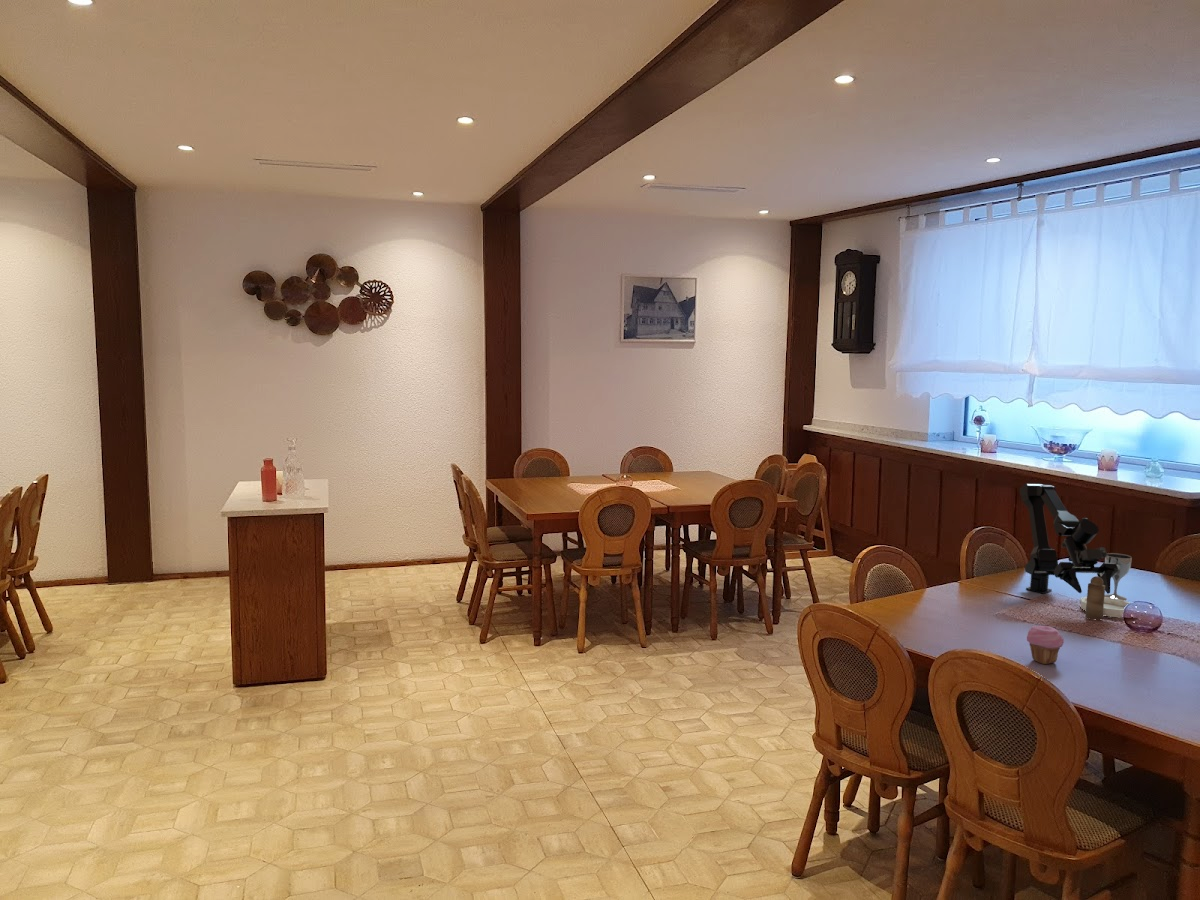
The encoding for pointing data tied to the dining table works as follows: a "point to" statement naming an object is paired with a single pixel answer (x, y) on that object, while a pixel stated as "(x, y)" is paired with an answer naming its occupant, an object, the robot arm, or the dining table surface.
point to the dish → (1109, 606)
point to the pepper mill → (1095, 599)
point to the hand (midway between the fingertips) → (1094, 592)
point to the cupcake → (1044, 643)
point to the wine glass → (1123, 566)
